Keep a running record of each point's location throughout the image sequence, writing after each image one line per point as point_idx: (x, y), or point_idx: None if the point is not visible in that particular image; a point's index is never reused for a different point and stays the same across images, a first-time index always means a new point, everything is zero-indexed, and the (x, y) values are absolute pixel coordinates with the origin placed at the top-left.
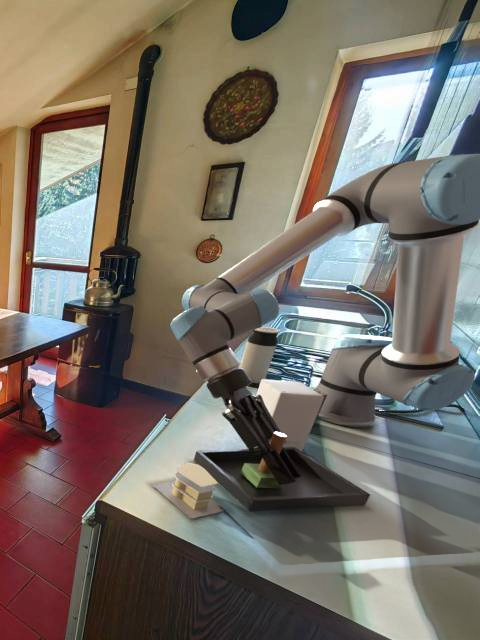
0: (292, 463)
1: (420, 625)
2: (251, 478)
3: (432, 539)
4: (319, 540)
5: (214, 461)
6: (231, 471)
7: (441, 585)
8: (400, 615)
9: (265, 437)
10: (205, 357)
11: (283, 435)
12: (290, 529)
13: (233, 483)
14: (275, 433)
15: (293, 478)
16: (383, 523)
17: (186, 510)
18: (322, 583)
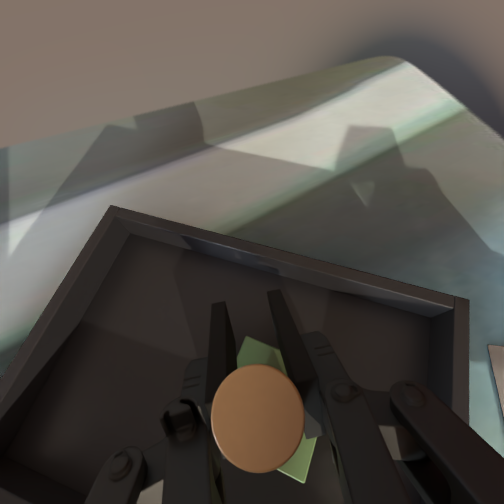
0: (219, 331)
1: (376, 86)
2: None
3: (137, 145)
4: (346, 203)
5: None
6: (320, 499)
7: (261, 104)
8: (385, 97)
9: (349, 469)
10: None
11: (250, 391)
12: (377, 241)
13: (468, 396)
14: (288, 441)
15: (275, 294)
16: (159, 189)
17: None
18: (449, 150)
